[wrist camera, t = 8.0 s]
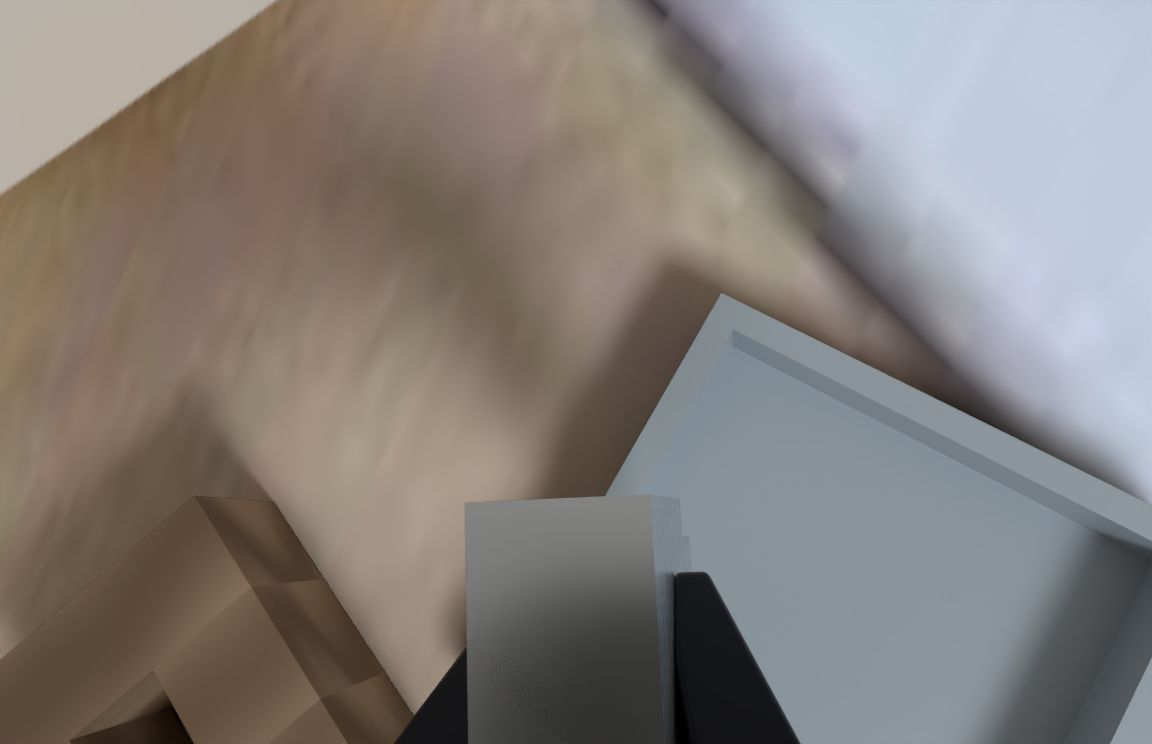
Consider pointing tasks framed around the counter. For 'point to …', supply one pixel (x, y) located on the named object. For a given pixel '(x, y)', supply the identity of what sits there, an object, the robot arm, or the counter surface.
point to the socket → (202, 646)
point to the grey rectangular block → (573, 620)
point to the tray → (899, 550)
